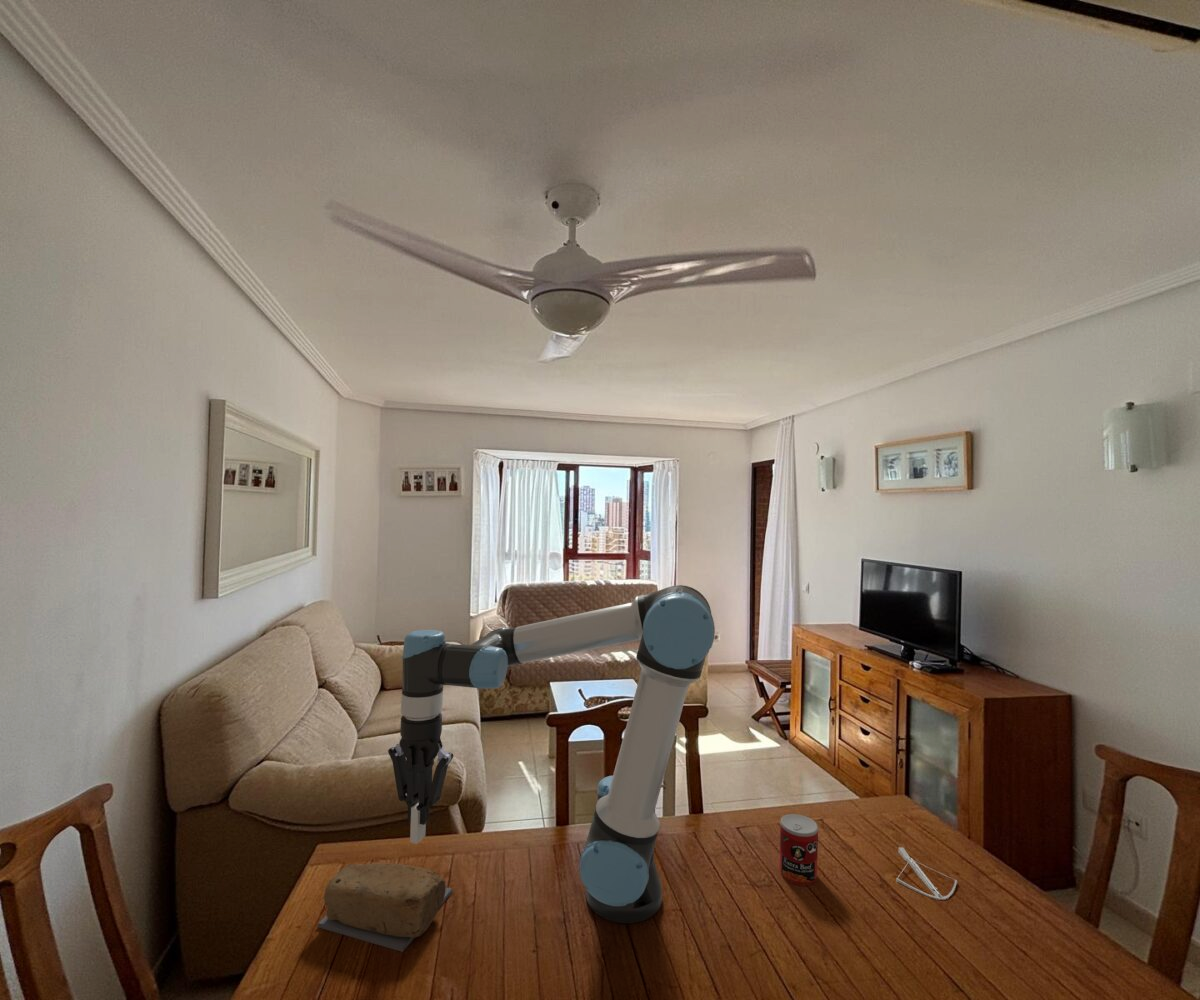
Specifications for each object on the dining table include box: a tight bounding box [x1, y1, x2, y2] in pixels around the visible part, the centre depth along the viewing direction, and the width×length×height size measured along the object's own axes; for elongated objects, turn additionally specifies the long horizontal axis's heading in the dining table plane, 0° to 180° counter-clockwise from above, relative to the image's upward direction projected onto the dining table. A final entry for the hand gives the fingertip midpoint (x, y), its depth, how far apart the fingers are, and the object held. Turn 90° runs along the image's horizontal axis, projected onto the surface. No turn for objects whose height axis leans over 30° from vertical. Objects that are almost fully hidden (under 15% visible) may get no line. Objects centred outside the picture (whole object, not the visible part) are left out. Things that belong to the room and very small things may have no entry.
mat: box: [317, 887, 453, 953], centre depth 109 cm, size 18×16×1 cm
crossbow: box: [895, 847, 958, 901], centre depth 123 cm, size 16×13×2 cm
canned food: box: [779, 813, 819, 886], centre depth 122 cm, size 8×8×11 cm
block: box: [323, 862, 447, 939], centre depth 106 cm, size 11×8×20 cm
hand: (417, 839), depth 107 cm, fingers closed
